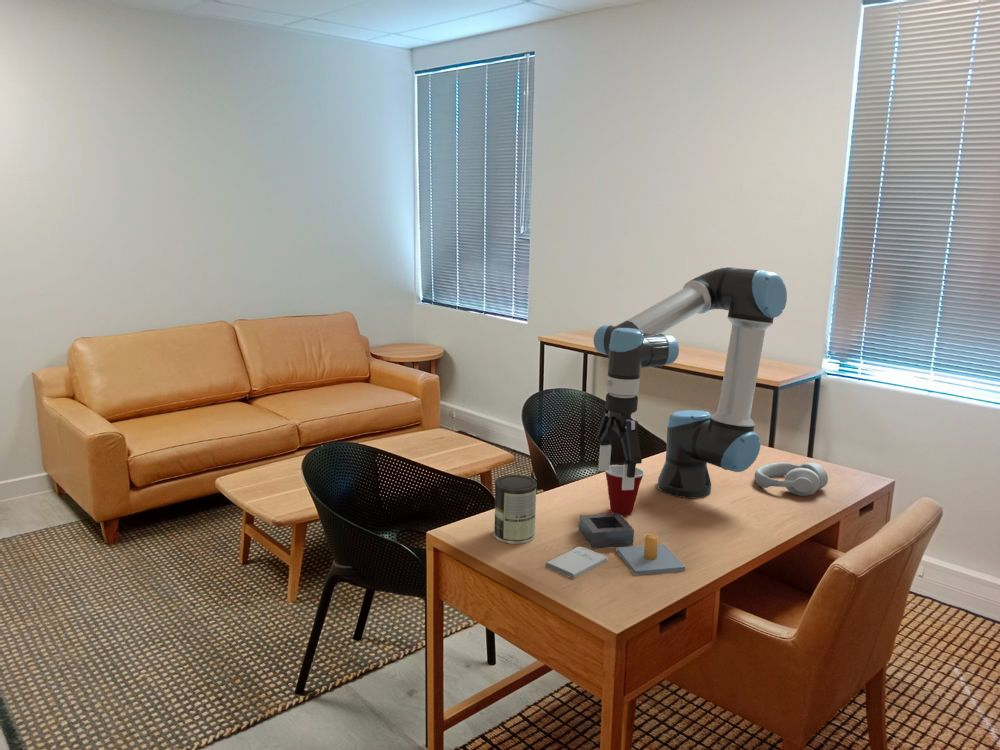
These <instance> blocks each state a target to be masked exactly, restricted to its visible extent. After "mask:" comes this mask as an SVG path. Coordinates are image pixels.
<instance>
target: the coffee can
mask: <svg viewBox="0 0 1000 750" xmlns="http://www.w3.org/2000/svg"><path fill="white" fill-rule="evenodd" d="M494 486H495V489H494V490H495V491H494V532H493V536H494V538H495V539H496V540H497V541H499V540H500V541H499V542H501V543H505V544H510V543H511V545H513V544H514V545H520V544H526V543H528V542H529V543H530V542H531V541H533V539H534V538H536V507H537V505H536V503H537V487H538V482H537V480H536V479H535V478H533V477H530V476H528V475H522V474H507V475H502V476H500V477H498V478H496V479H495V480H494Z"/></svg>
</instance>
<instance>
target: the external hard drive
mask: <svg viewBox="0 0 1000 750" xmlns="http://www.w3.org/2000/svg"><path fill="white" fill-rule="evenodd" d="M606 562H608V556H606V555H603V554H601V553H599V552H596V551H593V550H592V549H588V548H587V547H584V546H577V547H576V548H574V549H571V550H569V551H567V552H565V553H563V554H561V555H560V556H556V557H554V558H552V559H551V560H549V561H547V562H545V567H546V568H549V569H551V570H553V571H555V572H557V573H560V574H561V575H564V576H566V577H569V578H571V579H573V580H574V579H576V578H578V577H580V576H582V575H583V574H586V573H588V572H590V571H591V570H593V569H595V568H597V567H598V566H600V565H602V564H604V563H606Z"/></svg>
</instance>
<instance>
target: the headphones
mask: <svg viewBox="0 0 1000 750" xmlns="http://www.w3.org/2000/svg"><path fill="white" fill-rule="evenodd" d="M783 476H784V480H779V479H774V478H773V477H783ZM771 477H772V478H771ZM828 480H829V478H828V473H827V471H826V469H825V468H824V467H823V466H822V465H821V464H819V463H818V462H817V463H816V462H807V463H806V462H805V463H802V464H795V463H791V462H785V461H783V462H781V461H780V462H774V463H773V462H771V463H768V464H764V465H762V466H760V467H758V468H757V469H756V470H755V471H754V481H755V483H756V484H757V486H759V488H763V489H766V488H767V489H769V488H770V487H775V488H776V487H780V488H786V489H787V491H788V492H790V493H791V494H793V495H796V496H800V497H806V496H810V495H814V494H815V493H816V492H818V490H820V489H823V488H825V487H826V485H827V484H828V482H829V481H828Z"/></svg>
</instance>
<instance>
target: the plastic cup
mask: <svg viewBox="0 0 1000 750" xmlns="http://www.w3.org/2000/svg"><path fill="white" fill-rule="evenodd" d="M623 467H624V464H623V465H622V464H621V465H619V464H612V465H611V464H610V469H609V471H604V473H605V476H606V477H605V478H606V483H607V484H606V485H607V493H608V499H609V507H610V511H611V512H610V513H619V514H620V515H621V516H622V517H623V516H625V517H626V516H630V515H632V514H633V512H634V508H635V505H636V501H637V497H638V493H639V489H640V484H641V481H642V478H643V477H644V476H645V474H646V472H645V471H644V470H643V469H641V468H638V467H636V468H635V480H634V490H622V480H623Z"/></svg>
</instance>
